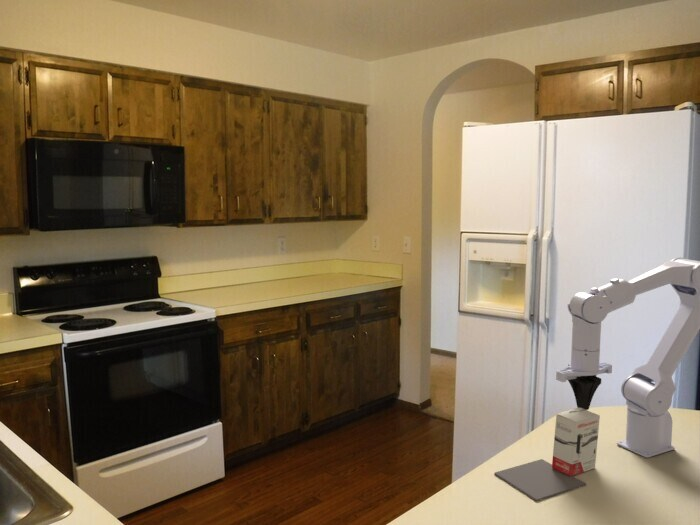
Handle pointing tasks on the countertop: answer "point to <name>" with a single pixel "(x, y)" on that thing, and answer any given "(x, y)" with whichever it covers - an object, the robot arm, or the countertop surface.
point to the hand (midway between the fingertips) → (582, 408)
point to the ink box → (575, 441)
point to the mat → (539, 480)
